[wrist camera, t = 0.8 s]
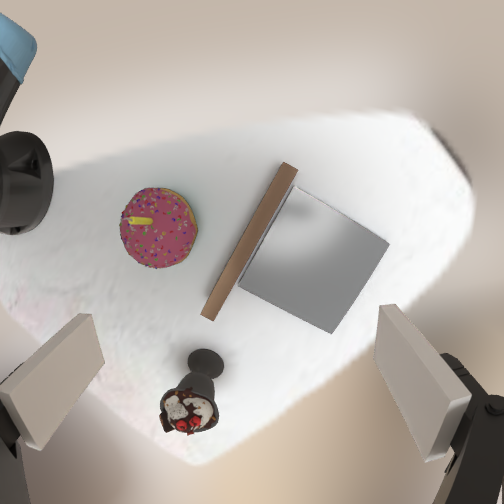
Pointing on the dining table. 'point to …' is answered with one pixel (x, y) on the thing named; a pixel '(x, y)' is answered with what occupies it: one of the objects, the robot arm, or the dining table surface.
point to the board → (313, 261)
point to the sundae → (193, 396)
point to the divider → (249, 240)
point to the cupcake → (158, 228)
